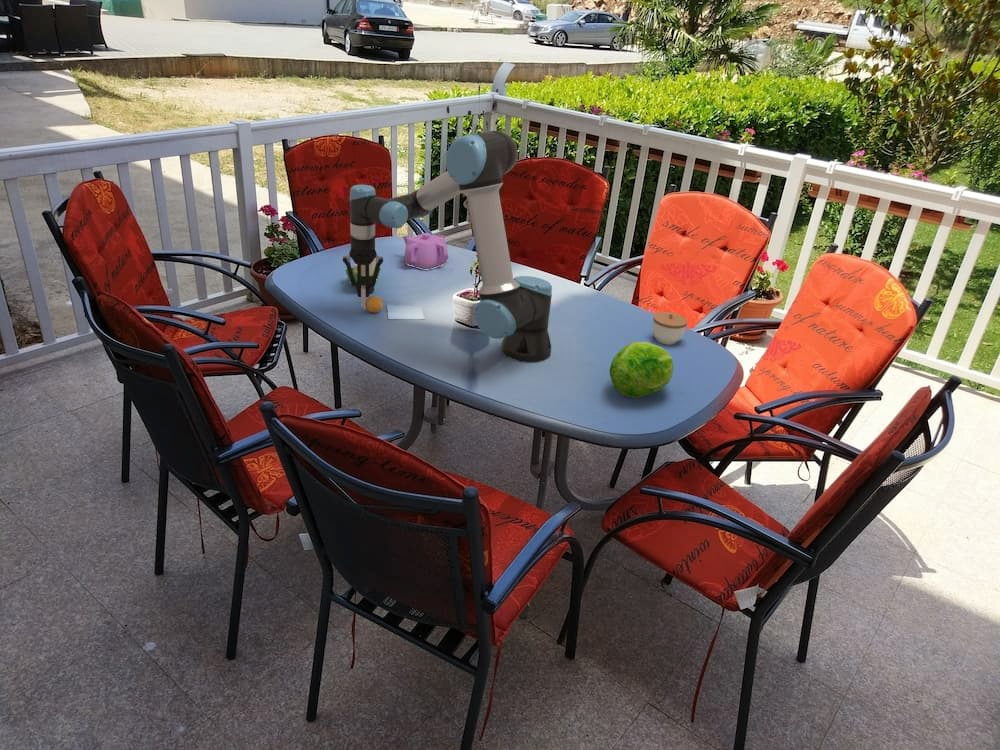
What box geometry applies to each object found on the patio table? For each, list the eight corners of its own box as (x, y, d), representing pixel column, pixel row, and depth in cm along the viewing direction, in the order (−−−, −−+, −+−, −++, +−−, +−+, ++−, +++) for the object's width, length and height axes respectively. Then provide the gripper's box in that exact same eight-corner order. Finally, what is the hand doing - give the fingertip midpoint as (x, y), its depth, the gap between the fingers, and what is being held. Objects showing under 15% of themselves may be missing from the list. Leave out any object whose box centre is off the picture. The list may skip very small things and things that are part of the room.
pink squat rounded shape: (406, 271, 268) (407, 240, 263) (402, 257, 283) (402, 227, 277) (450, 271, 272) (452, 240, 266) (444, 257, 287) (445, 227, 281)
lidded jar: (661, 330, 236) (666, 304, 231) (689, 342, 229) (695, 315, 225) (643, 338, 229) (647, 312, 224) (670, 350, 222) (676, 323, 218)
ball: (374, 319, 232) (387, 309, 231) (364, 309, 228) (377, 299, 227) (370, 308, 235) (383, 299, 235) (360, 299, 231) (373, 289, 231)
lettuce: (630, 364, 209) (676, 389, 202) (590, 390, 193) (639, 418, 186) (644, 321, 202) (693, 345, 194) (603, 345, 185) (655, 373, 178)
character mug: (368, 284, 254) (367, 250, 247) (383, 289, 250) (383, 254, 244) (347, 293, 245) (345, 257, 239) (362, 298, 242) (361, 262, 236)
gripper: (383, 233, 224) (383, 301, 235) (341, 231, 222) (343, 301, 233) (384, 240, 218) (383, 310, 229) (341, 239, 215) (342, 310, 226)
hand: (363, 305), depth 231 cm, fingers closed
